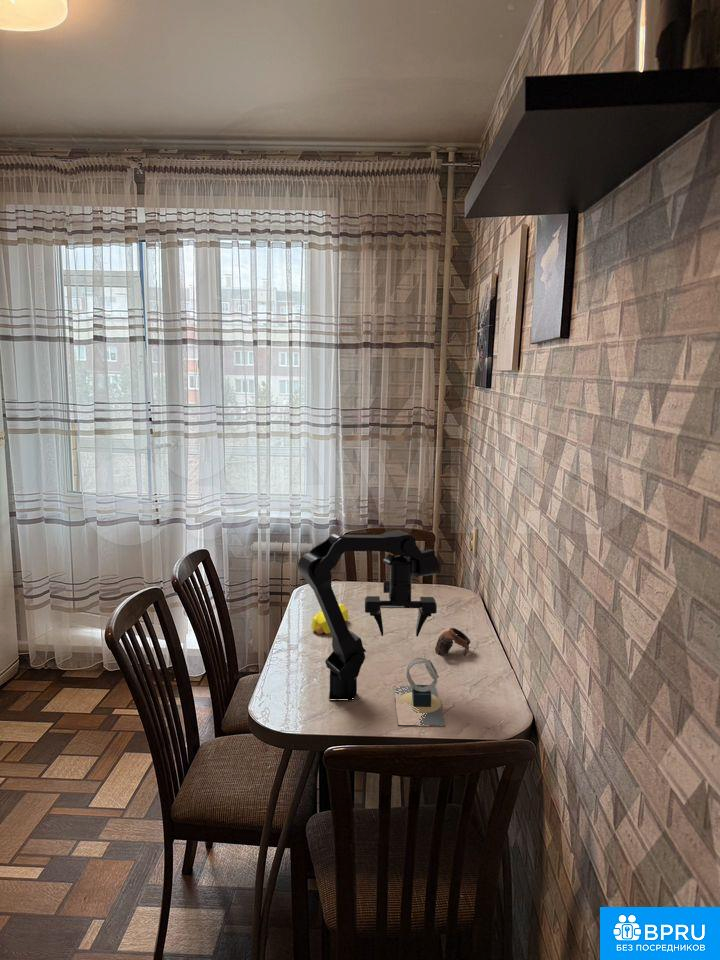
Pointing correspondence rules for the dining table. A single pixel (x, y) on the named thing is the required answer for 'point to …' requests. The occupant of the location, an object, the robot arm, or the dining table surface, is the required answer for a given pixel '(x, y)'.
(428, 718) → the mat
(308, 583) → the robot arm
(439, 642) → the brown curved piece
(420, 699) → the watch
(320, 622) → the yellow faceted lump
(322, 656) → the dining table surface
